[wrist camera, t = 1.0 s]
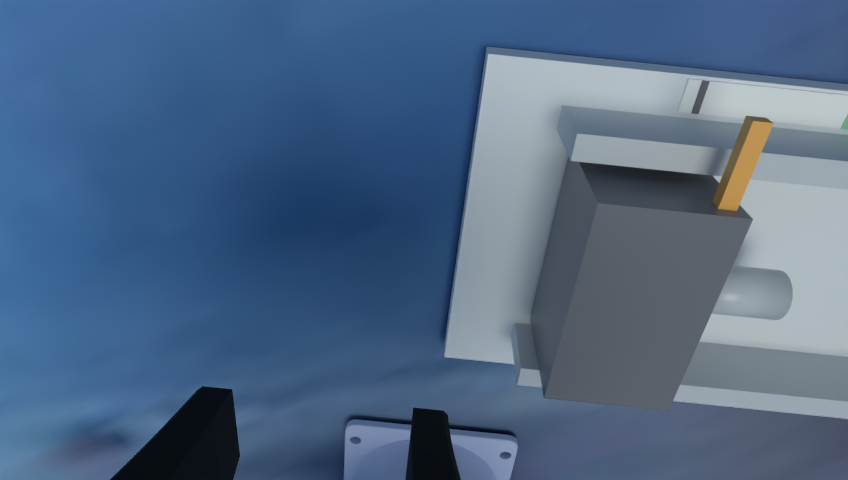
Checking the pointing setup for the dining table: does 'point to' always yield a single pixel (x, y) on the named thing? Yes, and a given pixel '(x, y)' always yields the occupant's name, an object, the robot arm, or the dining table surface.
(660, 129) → the gauge frame
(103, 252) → the dining table surface
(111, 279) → the dining table surface
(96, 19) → the dining table surface
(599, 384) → the block with orange peg
